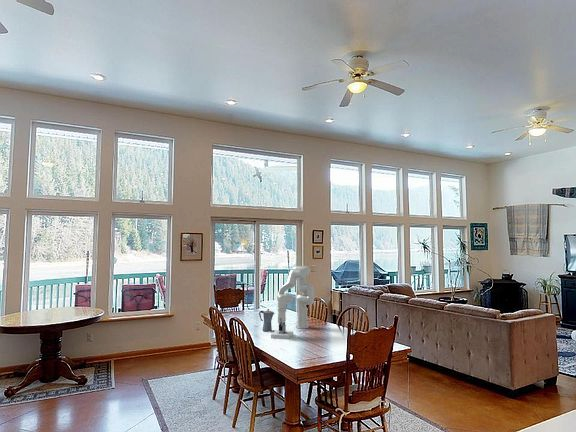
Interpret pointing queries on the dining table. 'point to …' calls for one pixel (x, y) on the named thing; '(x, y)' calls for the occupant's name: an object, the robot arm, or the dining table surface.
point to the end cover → (283, 329)
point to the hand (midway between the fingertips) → (282, 329)
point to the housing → (282, 335)
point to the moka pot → (267, 319)
